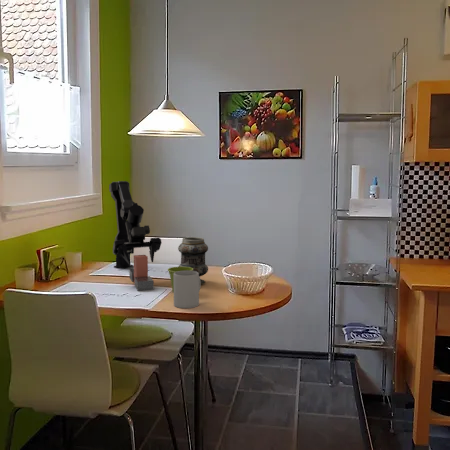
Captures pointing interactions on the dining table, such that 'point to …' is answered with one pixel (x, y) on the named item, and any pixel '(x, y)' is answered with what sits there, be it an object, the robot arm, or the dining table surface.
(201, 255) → the apothecary jar
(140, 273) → the pink rectangular block
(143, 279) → the gray block
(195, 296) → the mug
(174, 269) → the plant pot
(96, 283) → the dining table surface
